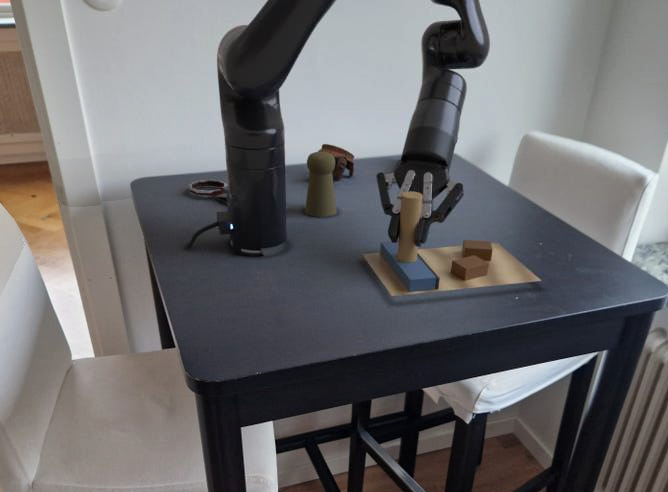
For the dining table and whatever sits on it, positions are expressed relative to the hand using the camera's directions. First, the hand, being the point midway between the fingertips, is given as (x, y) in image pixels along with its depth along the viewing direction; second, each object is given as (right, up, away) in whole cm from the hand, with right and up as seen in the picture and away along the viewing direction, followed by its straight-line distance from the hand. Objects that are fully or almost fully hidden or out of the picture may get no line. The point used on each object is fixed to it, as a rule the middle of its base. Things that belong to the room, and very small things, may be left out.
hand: (405, 242), depth 99 cm
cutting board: (+7, -4, +7) cm, 11 cm away
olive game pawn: (-14, +11, +29) cm, 34 cm away
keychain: (-32, +14, +34) cm, 48 cm away
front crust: (+10, -4, +4) cm, 12 cm away
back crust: (+12, 0, +10) cm, 16 cm away
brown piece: (-12, +21, +46) cm, 52 cm away
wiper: (0, -4, +5) cm, 6 cm away
